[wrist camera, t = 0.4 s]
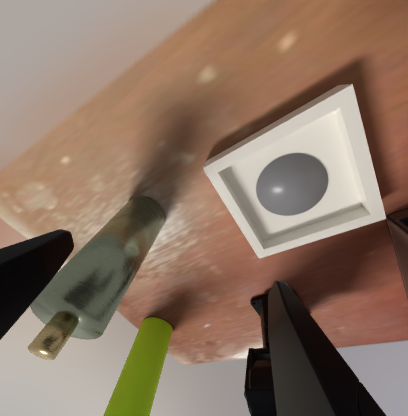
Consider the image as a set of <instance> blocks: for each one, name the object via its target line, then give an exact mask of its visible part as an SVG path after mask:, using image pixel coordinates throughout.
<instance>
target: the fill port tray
mask: <svg viewBox="0 0 408 416" xmlns="http://www.w3.org/2000/svg"><path fill="white" fill-rule="evenodd" d="M203 170H204V171H205V173H206V175H207V176H208V178H209V179H210V181H211V183H212V184H213V186H214V187H215V189H216V191H217V192H218V194H219V195H220V197H221V199H222V200H223V202H224V203H225V205H226V207H227V208H228V210H229V211H230V213H231V215H232V216H233V218H234V219H235V221H236V223H237V224H238V226H239V227H240V229H241V231H242V232H243V234H244V235H245V237H246V239H247V240H248V242H249V243H250V245H251V247H252V248H253V250H254V251H255V253H256V255H257V256H258V258H259V259H260V258H263V257H266V256H269V255H272V254H275V253H279V252H282V251H285V250H288V249H291V248H295V247H298V246H301V245H304V244H307V243H311V242H314V241H317V240H320V239H323V238H327V237H330V236H333V235H336V234H339V233H343V232H346V231H349V230H352V229H355V228H359V227H362V226H365V225H368V224H371V223H374V222H378V221H381V220H384V219H386V215H385V211H384V207H383V203H382V199H381V195H380V191H379V187H378V183H377V179H376V175H375V171H374V167H373V163H372V159H371V155H370V151H369V147H368V143H367V139H366V135H365V131H364V127H363V123H362V120H361V116H360V112H359V108H358V104H357V100H356V96H355V92H354V88H353V84H348V85H338V86H336V87H334V88H332V89H331V90H329V91H327V92H325V93H324V94H322V95H320V96H319V97H317V98H315V99H313V100H312V101H310V102H308V103H306V104H305V105H303V106H301V107H299V108H298V109H296V110H294V111H292V112H291V113H289V114H287V115H285V116H284V117H282V118H280V119H278V120H277V121H275V122H273V123H271V124H270V125H268V126H266V127H264V128H263V129H261V130H259V131H258V132H256V133H254V134H252V135H251V136H249V137H247V138H245V139H244V140H242V141H240V142H238V143H237V144H235V145H233V146H231V147H230V148H228V149H226V150H224V151H223V152H221V153H219V154H217V155H216V156H214V157H212V158H210V159H209V160H207V161H206V162H205V164H204V166H203Z"/></svg>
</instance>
